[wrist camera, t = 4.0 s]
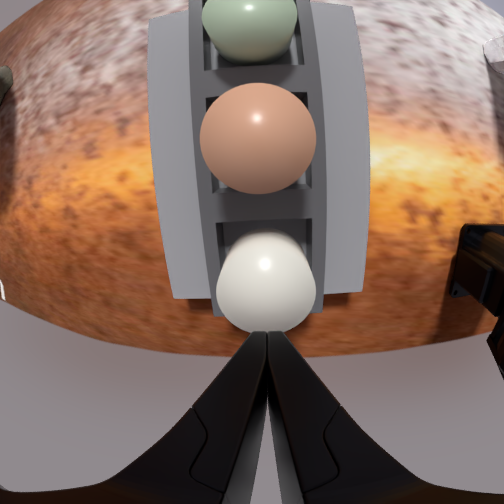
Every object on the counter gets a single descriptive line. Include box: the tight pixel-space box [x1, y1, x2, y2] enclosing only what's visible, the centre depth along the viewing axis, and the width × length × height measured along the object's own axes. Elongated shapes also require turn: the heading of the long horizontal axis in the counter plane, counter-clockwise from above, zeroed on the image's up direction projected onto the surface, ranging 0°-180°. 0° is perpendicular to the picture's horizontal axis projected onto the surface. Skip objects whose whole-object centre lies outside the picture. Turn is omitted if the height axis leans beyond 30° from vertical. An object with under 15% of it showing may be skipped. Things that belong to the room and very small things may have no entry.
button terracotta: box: [200, 83, 316, 194], centre depth 10 cm, size 4×4×3 cm
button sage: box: [202, 0, 297, 66], centre depth 9 cm, size 4×4×3 cm
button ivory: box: [216, 228, 316, 333], centre depth 12 cm, size 4×4×3 cm
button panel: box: [147, 0, 370, 316], centre depth 14 cm, size 12×18×4 cm, turn 4°
